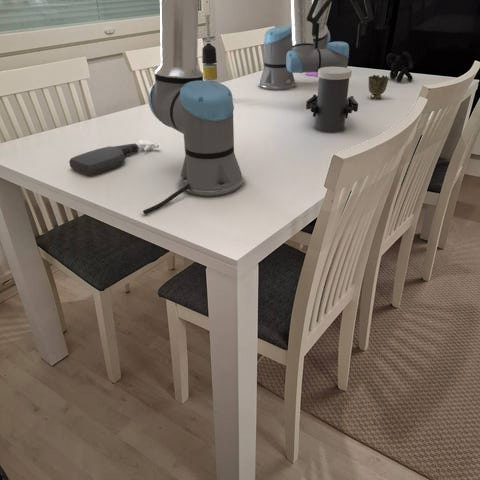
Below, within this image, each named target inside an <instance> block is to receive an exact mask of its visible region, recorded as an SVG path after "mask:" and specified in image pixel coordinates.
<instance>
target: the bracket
mask: <svg viewBox="0 0 480 480" xmlns="http://www.w3.org/2000/svg"><path fill="white" fill-rule="evenodd" d="M305 75H308V76H312V77H313V76H314V77H315V76H316V77H318V72H306V73H305Z"/></svg>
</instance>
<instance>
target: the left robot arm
mask: <svg viewBox="0 0 480 480" xmlns="http://www.w3.org/2000/svg"><path fill="white" fill-rule="evenodd" d="M318 1H319V0H314V1H313V3H312V6H311V8H310V11H309V13H308V15H307V21H309V22H311V23H312V36H316V37H315V48H318V35H319V23H317V21H318V20H319V19H320V17H321V16H322V14H323V13H324V11H325V10H326V9H327V7H328V6H329V4H330V3H331V2H332V3H333V0H326V1H325V3H324V4H323V6H322V7H321V9H320V10H319V11H318V13H317V14H316V16H315V17H314V18H313V17H312V15H313V13H314V11H315V8H316V6H317V3H318ZM363 2H364V7H365V11H366V16H365V14H364V12H363V10H362V9H361V7H360V4H359V2H358V1H357V0H350V3H351V5H352V6H353V8H354V10H355V12H356V14H357V15H358V16H357V17H359V20H360V21H361V22H358V26H357V35H356V43H355V48H356V49H360V47H361V39H362V37H363V36H365V35H366V28H367V24H368V23H369V22H372V21H374V18H375V17H374V15H373V10H372V6H371V0H363ZM332 3H331V4H332ZM159 9H160V11H159V12H160V14H159V15H160V16H159V17H160V65H159V66H158V67H157V68H156V69H155V71H154V81H153V84H152V85H151V86H150V88H149V90H148V106H149V109H150V111H151V114H153V116H154V117H155V118H156V119H157V120H158V121H159V122H161V123H162V124H163V125H164V126H167V127H169V128H171V129H173V130H175V131H177V132H179V133H181V134H183V143H184V154H185V155H184V158H183V164H182V168H181V171H180V177H179V178H180V179H179V183H180V184H179V185H180V188H179V189H178V190H176V191H175V192H174V193H172V194H170V195H169V196H168V197H167V198H165V199H164V200H162V201H160V202H158V203H157V204H155V205H152V206H150V207H148V208H146V209H143V210H142V213H143V214H144V215H147V214H149V213H152V212H153V211H156V210H158V209H160V208H162V207H164V206H166V205H167V204H169V203H170V202H172V200H174V199H175V198H177V197H178V196H180V195H181V194H182V193H184V192H186V193H187V194H190V195H194V196H199V197H221V196H224V195H229V194H232V193H234V192H235V191H237V190H239V189H240V188H241V187H242V185H243V174H242V171H241V168H240V165H239V163H238V160H237V157H236V154H235V132H234V131H235V130H234V127H235V126H234V110H235V106H234V100H233V98H234V97H233V94H232V91H231V89H230V88H229V87H227V86H226V85H225V84H223V83H221V82H218V81H215V82H210V81H208V80H204V75H203V72H202V71H201V69H200V68H199V66H198V42H199V41H198V40H199V39H198V38H199V37H198V36H199V34H198V33H199V0H159Z"/></svg>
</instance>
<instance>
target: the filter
mask: <svg viewBox="0 0 480 480" xmlns="http://www.w3.org/2000/svg"><path fill="white" fill-rule="evenodd" d="M210 17H211V14H204V18H205V27H206V29H205V30H206V31H205V33H206V39H207V40H206V42H207V43H206V45H204V46H202V49H201V50H202V51H201V52H202V54H201V55H202V57H201V58H202V61H201V63H202V71H203V72H202V73H203V80H205V81H210V82H216V80H218V64H216V63H218V61H217V48H216V47H215V46H214V45H212V43H210V42H211V40H210V39H211V31H210V29H211V28H210Z"/></svg>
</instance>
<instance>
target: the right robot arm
mask: <svg viewBox="0 0 480 480" xmlns="http://www.w3.org/2000/svg"><path fill="white" fill-rule="evenodd" d="M313 1H314V0H289V9H290V25H285V26H283V25H281V26H276V27H272V28H269V29H267V30H266V31H265V33H264V41H263V45H264V46H263V70H262V73H261V77H260V80H259V87H260V88H261V89H264V90H269V91H285V90H290V89H291V90H292V89H294V87H295V86H296V81H295V76H294V74H302V73H303V74H304V73H305V74H306V72H318V69H320V68H323V67H344V68H348V64H349V58H350V56H349V55H350V45H349V43H347V42H345V41H331V33H330V30H329V29H328V25H327V22H328V18H329V15H330V10H331V7H332V3H333V1H332V2H331V3H330V4H329V6H328V7H327V9H326V10H325V11H324V13H323V14H322V16H321V17H320V19H319V20H318V21H317V23H319V35H318V48H315V37H316V36H312V23H311V22H309V21H307V15H308V13H309V11H310V8H311V6H312V3H313ZM325 1H326V0H319V1H318V3H317V6H316V8H315V11H314V13H313V15H312V17H313V18H314V17H315V16H316V14H317V13H318V11H319V10H320V9H321V7H322V6H323V4H324V3H325ZM317 99H318V94H313V95H312V97H310V98H309V99H308V100H306V102H305V109H306V110H310V113H312V117H313V118H314V117H315V118H316V112H317ZM358 109H359V102H358V101H357V100H356V99H355V97H354V96H353V95H350V96H347V104H346V113H345V119H349V114H352V113H353V112H355V113H356V112H358Z"/></svg>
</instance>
